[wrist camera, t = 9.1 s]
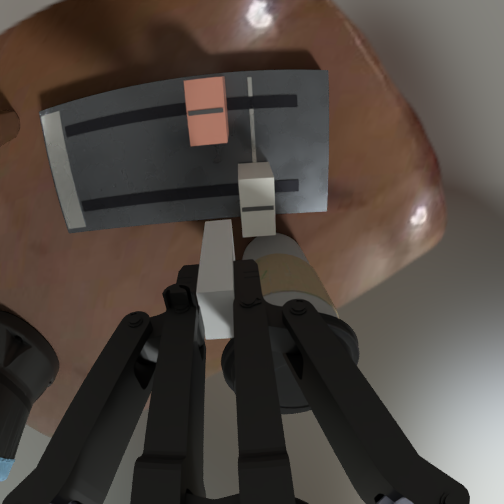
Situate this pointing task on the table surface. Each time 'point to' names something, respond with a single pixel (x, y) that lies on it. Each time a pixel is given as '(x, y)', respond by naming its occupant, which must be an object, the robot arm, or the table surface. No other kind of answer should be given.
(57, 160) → the console
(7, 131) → the milkshake
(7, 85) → the table surface
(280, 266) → the coffee cup
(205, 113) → the fader
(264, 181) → the fader
